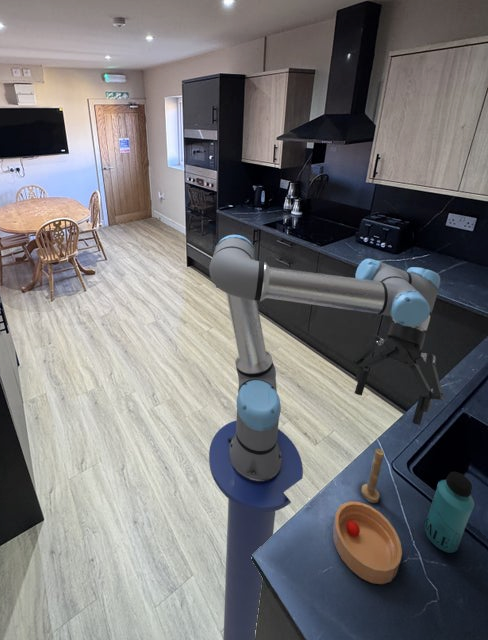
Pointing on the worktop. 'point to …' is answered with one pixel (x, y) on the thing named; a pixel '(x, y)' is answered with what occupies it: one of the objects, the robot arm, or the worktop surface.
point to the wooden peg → (373, 478)
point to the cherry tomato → (352, 528)
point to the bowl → (367, 543)
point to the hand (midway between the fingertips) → (385, 408)
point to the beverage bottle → (449, 512)
